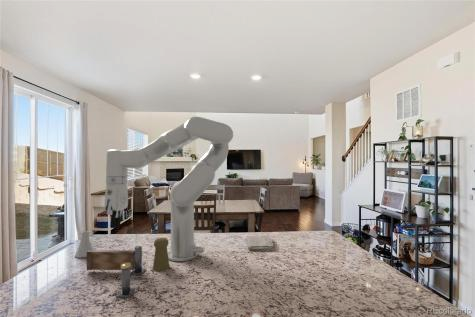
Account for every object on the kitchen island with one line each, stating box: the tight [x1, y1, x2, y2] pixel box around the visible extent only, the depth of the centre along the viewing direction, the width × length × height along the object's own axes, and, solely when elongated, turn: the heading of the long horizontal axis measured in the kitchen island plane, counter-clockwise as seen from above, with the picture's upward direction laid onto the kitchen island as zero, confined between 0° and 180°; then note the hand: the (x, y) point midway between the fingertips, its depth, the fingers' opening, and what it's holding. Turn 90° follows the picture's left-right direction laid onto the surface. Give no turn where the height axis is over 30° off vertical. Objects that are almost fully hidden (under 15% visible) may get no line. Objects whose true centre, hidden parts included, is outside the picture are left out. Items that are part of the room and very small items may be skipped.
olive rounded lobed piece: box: [152, 237, 171, 272], centre depth 95 cm, size 6×6×11 cm
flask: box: [74, 230, 95, 259], centre depth 108 cm, size 7×7×10 cm
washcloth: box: [245, 235, 274, 252], centre depth 120 cm, size 12×18×3 cm, turn 3°
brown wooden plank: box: [86, 249, 135, 271], centre depth 91 cm, size 17×2×6 cm, turn 88°
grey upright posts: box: [115, 245, 147, 299], centre depth 83 cm, size 7×19×9 cm, turn 178°
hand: (115, 227), depth 99 cm, fingers closed
